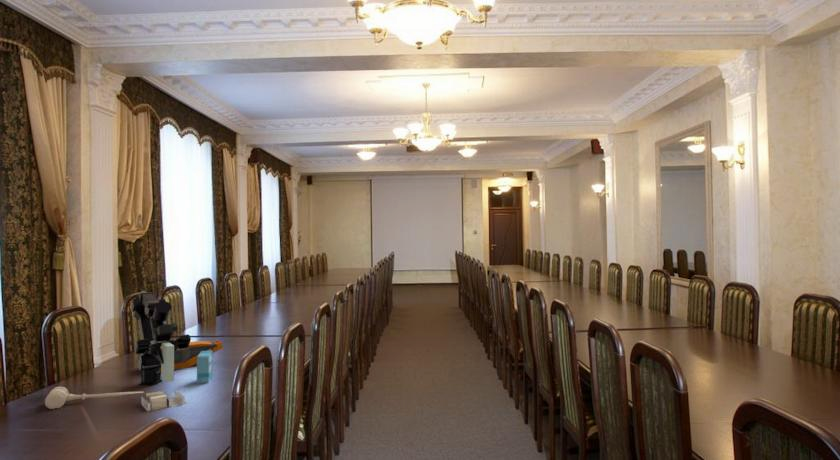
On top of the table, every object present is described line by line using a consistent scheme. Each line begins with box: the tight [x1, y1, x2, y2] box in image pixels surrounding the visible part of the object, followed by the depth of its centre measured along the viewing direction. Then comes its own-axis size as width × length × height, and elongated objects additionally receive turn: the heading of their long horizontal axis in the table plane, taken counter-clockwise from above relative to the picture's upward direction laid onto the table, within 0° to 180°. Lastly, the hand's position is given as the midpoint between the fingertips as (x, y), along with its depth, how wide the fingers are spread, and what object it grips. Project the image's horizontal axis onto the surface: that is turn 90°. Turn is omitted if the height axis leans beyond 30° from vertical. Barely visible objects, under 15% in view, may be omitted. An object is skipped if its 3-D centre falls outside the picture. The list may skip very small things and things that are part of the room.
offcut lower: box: [150, 401, 167, 410], centre depth 184 cm, size 8×5×2 cm, turn 39°
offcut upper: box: [145, 390, 167, 404], centre depth 184 cm, size 8×5×2 cm, turn 39°
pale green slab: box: [160, 342, 175, 383], centre depth 194 cm, size 8×2×13 cm, turn 39°
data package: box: [196, 351, 214, 384], centre depth 217 cm, size 12×4×12 cm, turn 14°
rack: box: [140, 389, 188, 412], centre depth 186 cm, size 10×13×4 cm
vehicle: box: [160, 339, 225, 372], centre depth 245 cm, size 14×34×10 cm, turn 125°
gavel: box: [44, 386, 144, 410], centre depth 193 cm, size 10×6×32 cm
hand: (167, 362), depth 194 cm, fingers closed on pale green slab, 2 cm apart
